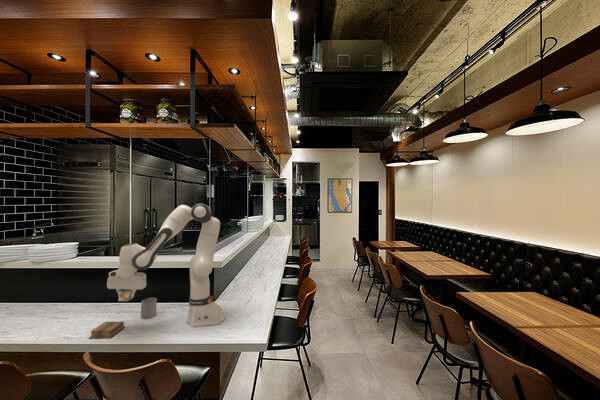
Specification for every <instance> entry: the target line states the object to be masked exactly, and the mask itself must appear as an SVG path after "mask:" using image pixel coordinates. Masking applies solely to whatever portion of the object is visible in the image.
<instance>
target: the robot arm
mask: <svg viewBox="0 0 600 400" xmlns="http://www.w3.org/2000/svg"><path fill="white" fill-rule="evenodd" d="M191 220H195V221H197V222H199V223H201V230H200V232H199V236H198V240H197V242H196V243H197V244H196V249H195V250H196V251H195V255H193V256H192V257H191V258H190V261H189V282H190V290H189V291H190V293H189V294H190V295H189V301H188V303H189V306H188V307H189V309H188V315H187V320H186V323H187V325H191V327H193V328H195V327H204V326H215V325H220V324H221V323H223V322H224V320H225V319H226V313H225V312H223V310H222V307H221V306H220V305H219V304H217V303H216V302H215V301H213V299H214V295H210V285H211V284H210V282H211V281H210V277H209V275H210V274H211V273H212V271H213V265H214V259H215V258H214V256H215V252H216V251H215V250H216V246H217V243H218V239H219V236H220V235H219V234H220V229H221V221H220V220H219V219H218V218H217V217H214V216H212V214H211V208H210V207H209V206H208V205H207V204H205V203H203V202H201V203H199V202H198V203H196V204H194V205H193V207H190V206H189V205H186V204H180V205H179V206H177V207H176V208H175V209H174V210H172V212H171V213H170V214H169V215H168V216H167V217H166V219H165V220H164V221H163V222H162V225H161V227H160V229H159V231H158V233H156V236H154V237H153V239H152V240H151V241H150V242H149V244H148V245H147V246H146V247H145V246H142V245H139V244H138V243H136V242H135V243H134V242H133V243H127V244H124V245H123V246H121V248H120V250H119V258H118V259H119V265H118V269H115V270H113V271H110V272H108V277H107V280H106V281H107V282H106V287H107V289H108V290H116V293H117V294H118V295H117V297H118V298H119V292H120V291H122V290H124V289H132V291H133V292H132V293H131V294H130V297H135V294H136V292H137V290H144V289H145V288H146V287H147V274H146V273H145V272H140V271H145V270H148V269H149V268H150V267H152V265H153V263H154V262H155V261H156V260H157V258H158V256H157V254H158V253H159V251H160V250H161V249H162V247H164V245H165V244H166V243H167V242H168V241H169V240H171V239H172V238H173V237H175V236H176V235H177V234H179V232H181V231H182V230H183V229H184V227H185V226H186V225H187V224H188V223H189V222H190V221H191ZM138 271H139V272H138Z"/></svg>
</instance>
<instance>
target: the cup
mask: <svg viewBox="0 0 600 400" xmlns="http://www.w3.org/2000/svg"><path fill="white" fill-rule="evenodd" d="M157 300H158V299H157V298H156V297H148V298H145V299H142V300H141V302H140V319H141V320H149V319H152V318H154V317H156V316H157V304H158V303H157Z"/></svg>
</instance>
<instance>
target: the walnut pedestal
mask: <svg viewBox="0 0 600 400" xmlns="http://www.w3.org/2000/svg"><path fill="white" fill-rule="evenodd" d="M124 323H125V321H123V320H122V321H105V322H103V323H101V324H100V325H98V326H96V327H95V328H93V329H92V330H91V332H90V333H91V336H89V337H88V339H89V340H98V339H99V340H100V339H101V340H103V339H105V340H109V339H113V338H114V337H115V336H117V335H118V334H119V333H121V332H122V331H124V330H125V329H126V326H125V325H124ZM120 331H121V332H120Z"/></svg>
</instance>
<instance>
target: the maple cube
mask: <svg viewBox="0 0 600 400" xmlns="http://www.w3.org/2000/svg"><path fill="white" fill-rule="evenodd" d="M132 292H133V291H132V289H121V291H120V292H119V297H118V302H129V301H130V300H132V299H134V297H135V296H134V297H130V294H131V293H132Z"/></svg>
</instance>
